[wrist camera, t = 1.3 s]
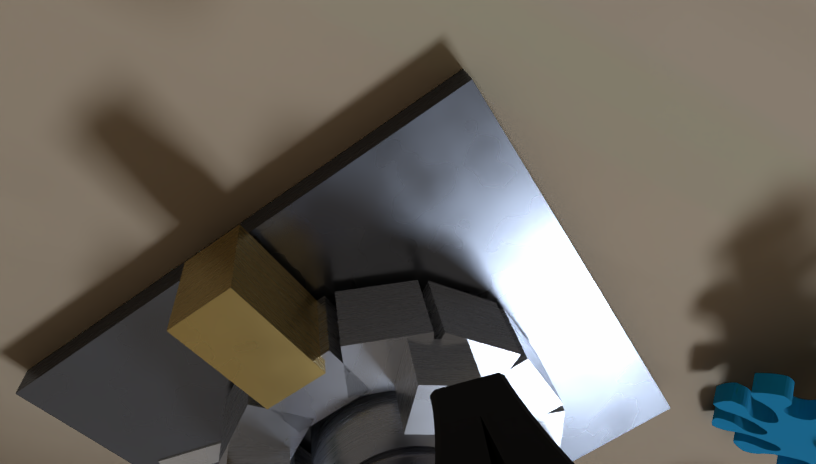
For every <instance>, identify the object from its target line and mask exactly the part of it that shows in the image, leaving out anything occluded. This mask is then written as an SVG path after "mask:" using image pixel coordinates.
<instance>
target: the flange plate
mask: <svg viewBox="0 0 816 464" xmlns="http://www.w3.org/2000/svg"><path fill="white" fill-rule="evenodd" d="M240 225H241V226H242V227H243V228H244V229H245V230H246V231H247V232H248V233H249V234H250V235H251V236H252V237H253V238H254V239H255V240H256V241H257V242H258V243H259V244H260V245H261V246H262V247H263V248H264V249H265V250H266V251H267V252H268V253H269V254H270V255H271V256H272V257H273V258H274V259H275V260H276V261H277V262H278V263H279V264H280V265H282V266H283V267H284V268H285V269H286V270H287V271H288V272H289V273H290V274H291V275H292V276H293V277H294V278H295V279H296V280H297V281H298V282H299V283H300V284H301V285H302V286H303V287H304V288H305V289H306V290H307V291H308V292H309V293H310V294H311V295H312V296H313V297H314V298H315V299H316V300H319V299H320V298H322V297H323V296H326V297H327V298H328V299H329V300H330V301H331V302H332V303H333V304H334V305H335V306H336V298H335V292H336V291H343V290H350V289H357V288H364V287H371V286H378V285H385V284H392V283H399V282H406V281H413V280H418V282H419V286H420V289H421V291H422V290H423V288H424V286H425V285H426V283H427V281H431V282H434V283H437V284H440V285H443V286H446V287H449V288H452V289H456V290H459V291H462V292H465V293H468V294H471V295H474V296H477V297H480V298H483V299H487V300H490V301H493V302H496V304H497V306H498V308H499V309H501V308H502V307H503V308H504V309H505V311H506V312H507V313H508V315H509V316H510V317H511V319H512V320H513V321H514V323H515V324H516V325H517V327H518V328H519V329H520V331H521V332H522V333H523V335H524V336H525V337H526V339H527V340H528V341H529V342H530V344H531V345H532V346H533V348H534V349H535V350H536V352H537V354H538V356H539V358H540V360H541V362H542V364H543V366H544V368H545V370H546V372H547V374H548V376H549V377H550V379H551V381H552V383H553V385H554V387H555V389H556V391H557V393H558V395H559V397H560V399H561V401H562V403H563V405H562V406H563V408H564V410H565V414H564V422H563V430H562V438H561V446H560V448H561V449H562V450H563V451H564V453H565V454H566V455H567V456H568V457H569V458H570V459H571V460H572V461H574V460H576V459H578V458H580V457H581V456H583V455H585V454H587V453H589V452H591V451H592V450H594V449H596V448H598V447H600V446H602V445H603V444H605V443H607V442H609V441H611V440H613V439H614V438H616V437H618V436H620V435H622V434H624V433H625V432H627V431H629V430H631V429H633V428H635V427H636V426H638V425H640V424H642V423H644V422H646V421H648V420H649V419H651V418H653V417H655V416H657V415H659V414H660V413H662V412H664V411H666V410H668V409H670V406H669V405H668V403H667V401H666V400H665V398H664V396H663V395H662V393H661V392H660V390H659V388H658V387H657V385H656V383H655V382H654V380H653V378H652V377H651V375H650V373H649V372H648V370H647V368H646V367H645V365H644V363H643V362H642V360H641V358H640V357H639V355H638V353H637V352H636V350H635V348H634V347H633V345H632V343H631V342H630V340H629V338H628V337H627V335H626V334H625V332H624V330H623V329H622V327H621V325H620V324H619V322H618V320H617V319H616V317H615V315H614V314H613V312H612V310H611V309H610V307H609V305H608V304H607V302H606V300H605V299H604V297H603V295H602V294H601V292H600V290H599V289H598V287H597V285H596V284H595V282H594V280H593V279H592V277H591V276H590V274H589V272H588V271H587V269H586V267H585V266H584V264H583V262H582V261H581V259H580V257H579V256H578V254H577V252H576V251H575V249H574V247H573V246H572V244H571V242H570V241H569V239H568V237H567V236H566V234H565V232H564V231H563V229H562V227H561V226H560V224H559V222H558V221H557V219H556V218H555V216H554V214H553V213H552V211H551V209H550V208H549V206H548V204H547V203H546V201H545V199H544V198H543V196H542V194H541V193H540V191H539V189H538V188H537V186H536V184H535V183H534V181H533V179H532V178H531V176H530V174H529V173H528V171H527V169H526V168H525V166H524V164H523V163H522V161H521V160H520V158H519V156H518V155H517V153H516V151H515V150H514V148H513V146H512V145H511V143H510V141H509V140H508V138H507V136H506V135H505V133H504V131H503V130H502V128H501V126H500V125H499V123H498V121H497V120H496V118H495V116H494V115H493V113H492V111H491V110H490V108H489V106H488V105H487V103H486V102H485V100H484V98H483V97H482V95H481V93H480V92H479V90H478V88H477V87H476V85H475V83H474V82H473V80H472V79H471V77H470V76H469V75H468V74H467V73H466V72H465V71H464V69H462V70H461V71H459V72H458V73H456V74H455V75H453V76H452V77H451V78H449V79H448V80H446V81H445V82H443V83H442V84H441V85H439V86H438V87H436V88H435V89H433V90H432V91H430V92H429V93H428V94H426V95H425V96H423V97H422V98H420V99H419V100H417V101H416V102H415V103H413V104H412V105H410V106H409V107H407V108H406V109H404V110H403V111H402V112H400V113H399V114H397V115H396V116H394V117H393V118H391V119H390V120H389V121H387V122H386V123H384V124H383V125H381V126H380V127H378V128H377V129H376V130H374V131H373V132H371V133H370V134H368V135H367V136H366V137H364V138H363V139H361V140H360V141H358V142H357V143H355V144H354V145H353V146H351V147H350V148H348V149H347V150H345V151H344V152H342V153H341V154H340V155H338V156H337V157H335V158H334V159H332V160H331V161H329V162H328V163H327V164H325V165H324V166H322V167H321V168H319V169H318V170H316V171H315V172H314V173H312V174H311V175H309V176H308V177H306V178H305V179H304V180H302V181H301V182H299V183H298V184H296V185H295V186H293V187H292V188H291V189H289V190H288V191H286V192H285V193H283V194H282V195H280V196H279V197H278V198H276V199H275V200H273V201H272V202H270V203H269V204H267V205H266V206H265V207H263V208H262V209H260V210H259V211H257V212H256V213H254V214H253V215H252V216H250V217H249V218H247V219H246V220H244V221H243V222H241V223H240ZM237 226H238V225H237ZM234 228H235V227H234ZM234 228H233V229H234ZM231 230H232V229H231ZM231 230H230V231H231ZM227 233H228V232H227ZM224 235H225V234H224ZM221 237H222V236H221ZM221 237H220V238H221ZM218 239H219V238H218ZM218 239H217V240H218ZM214 242H215V241H214ZM211 244H212V243H211ZM208 246H209V245H208ZM208 246H207V247H208ZM205 248H206V247H205ZM205 248H204V249H205ZM201 251H202V250H201ZM198 253H199V252H198ZM195 255H196V254H195ZM195 255H194V256H195ZM192 257H193V256H192ZM192 257H191V258H192ZM188 260H189V259H188ZM185 262H186V261H185ZM185 262H184V263H182V264H181V265H179V266H178V267H177V268H175V269H174V270H172V271H171V272H169V273H168V274H167V275H165V276H164V277H162V278H161V279H159V280H158V281H156V282H155V283H154V284H152V285H151V286H149V287H148V288H146V289H145V290H143V291H142V292H141V293H139V294H138V295H136V296H135V297H133V298H132V299H130V300H129V301H128V302H126V303H125V304H123V305H122V306H120V307H119V308H117V309H116V310H115V311H113V312H112V313H110V314H109V315H107V316H106V317H105V318H103V319H102V320H100V321H99V322H97V323H96V324H94V325H93V326H92V327H90V328H89V329H87V330H86V331H84V332H83V333H81V334H80V335H79V336H77V337H76V338H74V339H73V340H71V341H70V342H68V343H67V344H66V345H64V346H63V347H61V348H60V349H58V350H57V351H55V352H54V353H53V354H51V355H50V356H48V357H47V358H45V359H44V360H42V361H41V362H40V363H38V364H37V365H35V366H34V367H32V368H31V369H30V370H28V371H27V373H26V375H25V376H24V378H23V380H22V382H21V384H20V386H19V388H18V390H17V392H16V394H17V395H19V396H20V397H22V398H24V399H25V400H27V401H29V402H30V403H32V404H34V405H35V406H37V407H39V408H40V409H42V410H44V411H45V412H47V413H49V414H50V415H52V416H54V417H55V418H57V419H59V420H60V421H62V422H64V423H65V424H67V425H68V426H70V427H72V428H73V429H75V430H77V431H78V432H80V433H82V434H83V435H85V436H87V437H88V438H90V439H92V440H93V441H95V442H97V443H98V444H100V445H102V446H103V447H105V448H107V449H108V450H110V451H112V452H113V453H115V454H117V455H118V456H120V457H122V458H123V459H125V460H127V461H128V462H130V463H131V464H218V462H219V454H220V446H221V438H222V429H223V421H224V413H225V405H226V400H227V398H228V396H229V394H230V392H231V389H232V387H233V385H234V383H233V382H231V381H230V380H229V379H227V378H226V377H225V376H224V375H222V374H221V373H220V372H219V371H217V370H216V369H215V368H213V367H212V366H211V365H210V364H208V363H207V362H206V361H204V360H203V359H202V358H201V357H199V356H198V355H197V354H195V353H194V352H193V351H192V350H190V349H189V348H188V347H186V346H185V345H184V344H183V343H181V342H180V341H179V340H178V339H176V338H175V337H174V336H172V335H171V334H170V333H169V332H167V327H168V324H169V320H170V316H171V313H172V309H173V305H174V301H175V298H176V294H177V290H178V286H179V283H180V279H181V275H182V271H183V268H184V264H185ZM299 446H301V447H302V448H303V449H305V450H306V451H307V452H309V453H310V454H311V455H312V453H311V426H310V427H309V428H308V430H307V432H306V434H305V435H304V437H303V439H302V441H301V442H300V444H299Z"/></svg>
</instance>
